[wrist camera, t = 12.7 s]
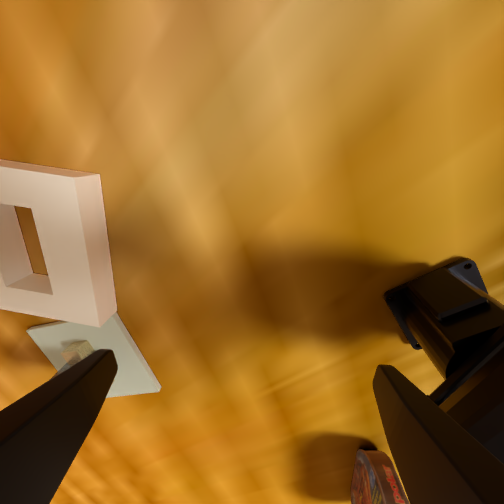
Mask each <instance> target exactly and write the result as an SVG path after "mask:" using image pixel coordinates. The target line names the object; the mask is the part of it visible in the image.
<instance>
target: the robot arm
mask: <svg viewBox="0 0 504 504" xmlns="http://www.w3.org/2000/svg"><path fill="white" fill-rule="evenodd" d="M467 263H468V265H467V266H465V264H467ZM464 266H465V267H464ZM391 296H393V298H390V299H389V297H391ZM384 299H385V301H386V303H387V304H388V306H389V308H390V310H391V311H392V313H393V315H394V317H395V318H396V320H397V322H398V323H399V325H400V327H401V329H402V330H403V332H404V334H405V336H406V337H407V339H408V341H409V343H410V344H411V346H412V347H413V348H414V349H416V350H419V349H423V350H424V351H425V353H426V354H427V356H428V357H429V358H430V360H431V361H432V363H433V364H434V365H435V367H436V368H437V370H438V371H439V372H440V374H441V375H442V377H443V378H444V380H445V381H444V382H443V383H442V384H441V385H440V386H439V387H438V388H436V389H435V390H434V391H433V392H432V393H431V394H430V395H427V396H426V395H425V394H424V393H423V392H422V391H421V390H419V389H418V388H417V387H416V386H415V385H414V384H413V383H412V382H410V381H409V380H408V379H407V378H406V377H405V376H404V375H403V374H401V373H400V372H399V371H398V370H397V369H396V368H395V367H393V366H391V365H378V366H377V369H376V372H375V376H374V379H373V390H374V394H375V398H376V402H377V405H378V409H379V413H380V416H381V420H382V424H383V427H384V431H385V435H386V438H387V442H388V445H389V448H390V450H391V453H392V456H393V459H394V461H395V464H396V467H397V469H398V472H399V475H400V478H401V480H402V483H403V486H404V488H405V491H406V494H407V496H408V499H409V502H410V504H504V305H502V304H501V303H500V302H498V301H497V300H495V299H494V298H492V297H491V296H490V295H489V294H488V292H487V290H486V287H485V285H484V282H483V280H482V278H481V275H480V273H479V270H478V268H477V266H476V263H475V262H474V261H473V260H471V259H469V258H463V259H460V260H458V261H456V262H453V263H451V264H449V265H447V266H444V267H442V268H440V269H437V270H435V271H433V272H431V273H428V274H426V275H424V276H421V277H419V278H417V279H415V280H412V281H410V282H408V283H406V284H403V285H401V286H399V287H396V288H394V289H392V290H390V291H387V292H386V293H385V294H384ZM417 343H418V344H417ZM117 371H118V364H117V361H116V358H115V355H114V352H113V350H111V349H99V350H97V351H95V352H93V353H92V354H90V355H89V356H87V357H86V358H84V359H82V360H81V361H79V362H78V363H76V364H74V365H73V366H71V367H70V368H68V369H66V370H65V371H63V372H62V373H60V374H59V375H57V376H55V377H54V378H52V379H51V380H49V381H47V382H46V383H44V384H43V385H41V386H39V387H38V388H36V389H35V390H33V391H32V392H30V393H28V394H27V395H25V396H24V397H22V398H20V399H19V400H17V401H16V402H14V403H12V404H11V405H9V406H8V407H6V408H4V409H3V410H1V411H0V504H49V503H50V502H51V500H52V498H53V496H54V494H55V493H56V491H57V489H58V487H59V485H60V484H61V482H62V480H63V478H64V476H65V475H66V473H67V471H68V469H69V467H70V466H71V464H72V462H73V460H74V458H75V457H76V455H77V453H78V451H79V449H80V448H81V446H82V444H83V442H84V440H85V439H86V437H87V435H88V433H89V431H90V429H91V428H92V426H93V424H94V422H95V420H96V418H97V416H98V414H99V412H100V410H101V407H102V405H103V403H104V401H105V398H106V396H107V394H108V392H109V390H110V387H111V385H112V383H113V381H114V378H115V376H116V374H117Z"/></svg>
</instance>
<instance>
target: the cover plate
mask: <svg viewBox="0 0 504 504" xmlns="http://www.w3.org/2000/svg"><path fill="white" fill-rule="evenodd" d="M14 206H20V207H26V208H31V210H32V213H33V217H34V221H35V225H36V229H37V233H38V237H39V241H40V245H41V249H42V253H43V256H44V260H45V264H46V268H47V272H48V276H47V275H42V274H36V273H33V271H32V267H31V264H30V260H29V257H28V253H27V250H26V246H25V243H24V239H23V236H22V232H21V229H20V225H19V222H18V218H17V215H16V211H15V207H14ZM0 309H3V310H8V311H14V312H19V313H24V314H30V315H35V316H41V317H46V318H51V319H57V320H62V321H67V322H73V323H78V324H84V325H89V326H94V327H101V326H102V325H103V324H104V323H105V322H106V321H107V320H108V319H109V318H110V317H111V316H112V315H113V314H114V313H115V312H116V311H117V303H116V296H115V288H114V280H113V273H112V265H111V257H110V249H109V242H108V234H107V226H106V218H105V211H104V203H103V195H102V188H101V180H100V174H96V173H89V172H83V171H76V170H69V169H63V168H56V167H49V166H42V165H36V164H29V163H22V162H16V161H9V160H2V159H0Z"/></svg>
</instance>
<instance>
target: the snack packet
mask: <svg viewBox="0 0 504 504" xmlns="http://www.w3.org/2000/svg"><path fill="white" fill-rule="evenodd" d="M351 503H352V504H410V503H409V501H408V499H407V497H406V495H405V492H404V490H403V487H402V485H401V482H400V480H399V478H398V475H397V473H396V471H395V469H394V465H393V463H392V461H391V460H390V458H389V457H388V456H387V455H386V454H385V453H384V452H382V451H375V450H362V449H359V450H358V451H357V454H356V460H355V466H354V473H353V478H352V484H351Z"/></svg>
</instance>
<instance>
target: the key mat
mask: <svg viewBox="0 0 504 504" xmlns="http://www.w3.org/2000/svg"><path fill="white" fill-rule="evenodd" d="M26 331H27V333H28V334H29V335H30V337H31V338H32V339H33V340H34V342H35V343H36V344H37V345H38V347H39V348H40V349H41V350H42V352H43V353H44V354H45V355H46V357H47V358H48V359H49V360H50V362H51V363H52V364H53V365H54V367H55V368H56V369H57V370H58V371H59V370H60V369H61V368H62V367H63V366H64V365H65V364H66V363H67V362H66V360H65V359H64V358H63V356H62V355H61V354H60V353H61V352H62V351H64V350H65V349H66V348H67V347H68V346H69V345H70V344H71V343H72V342H78V341H84V340H88V341H89V343H90V344H91V346H92V347H93V349H94V350H95V351H96V350H99V349H111V350H113V352H114V355H115V358H116V361H117V364H118V371H117V374H116V376H115V378H114V380H115V381H114V383H113V384H112V385H111V387H110V390H109V392H108V394H107V396H106V398H108V397H117V396H126V395H135V394H143V393H152V392H159V391H160V389H161V385H160V384H159V382H158V380H157V379H156V377H155V375H154V374H153V372H152V370H151V369H150V367H149V365H148V364H147V362H146V360H145V359H144V357H143V355H142V354H141V352H140V350H139V349H138V347H137V345H136V344H135V342H134V341H133V339H132V337H131V336H130V334H129V332H128V331H127V329H126V327H125V326H124V324H123V322H122V321H121V319H120V317H119V316H118V314H117V312H115V313H114V314H113V315H112V316H111V317H110V318H109V319H108V320H107V321H106V322H105V323H104V324H103V325H102V326H101V327H94V326H89V325H84V324H78V323H73V322H67V321H58V322H53V323H48V324H44V325H39V326H34V327H31V328H29V329H28V330H26Z"/></svg>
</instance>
